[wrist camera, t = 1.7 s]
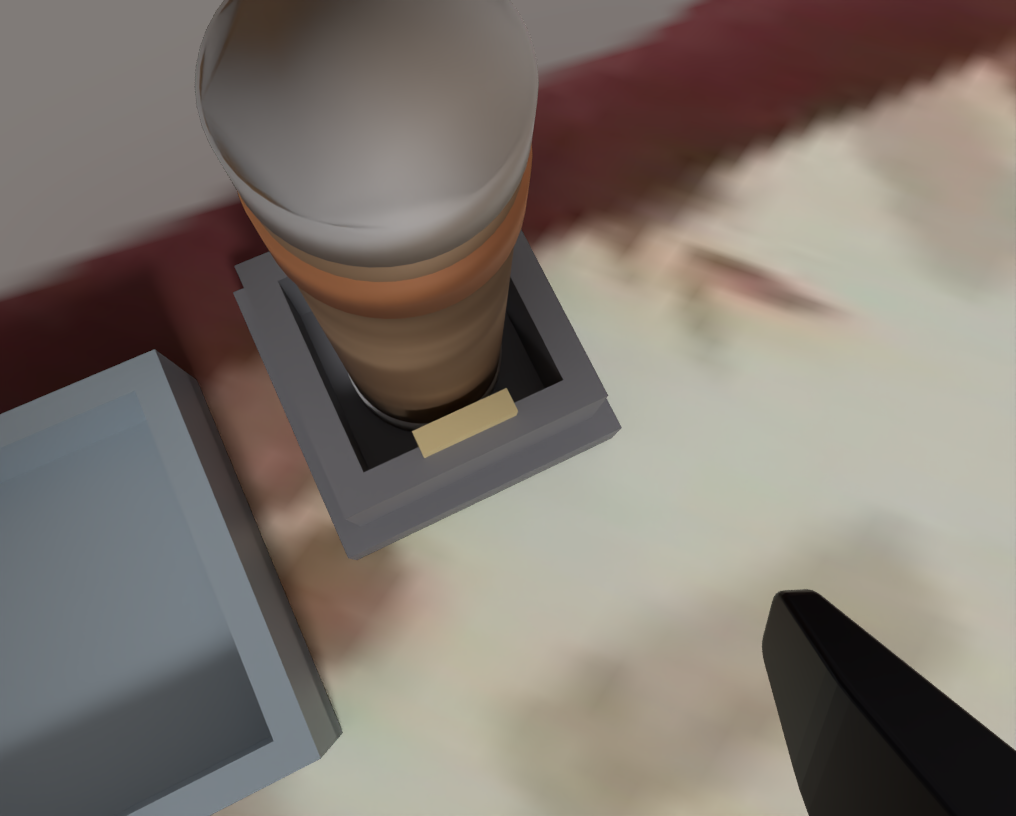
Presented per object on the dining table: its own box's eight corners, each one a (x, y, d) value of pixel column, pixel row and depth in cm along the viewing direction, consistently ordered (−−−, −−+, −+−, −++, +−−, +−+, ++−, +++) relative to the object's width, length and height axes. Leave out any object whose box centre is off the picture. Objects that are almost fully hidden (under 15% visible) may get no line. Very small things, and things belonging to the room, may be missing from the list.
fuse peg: (450, 464, 20) (422, 302, 9) (317, 383, 21) (116, 121, 9) (530, 336, 21) (605, 32, 9) (402, 260, 21) (322, -124, 10)
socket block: (611, 437, 22) (646, 401, 18) (356, 559, 21) (326, 554, 17) (493, 208, 24) (497, 123, 19) (248, 311, 22) (194, 245, 18)
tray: (342, 733, 20) (320, 758, 17) (-61, 938, 19) (-161, 1005, 16) (196, 380, 22) (155, 349, 19) (-180, 542, 20) (-289, 535, 18)
